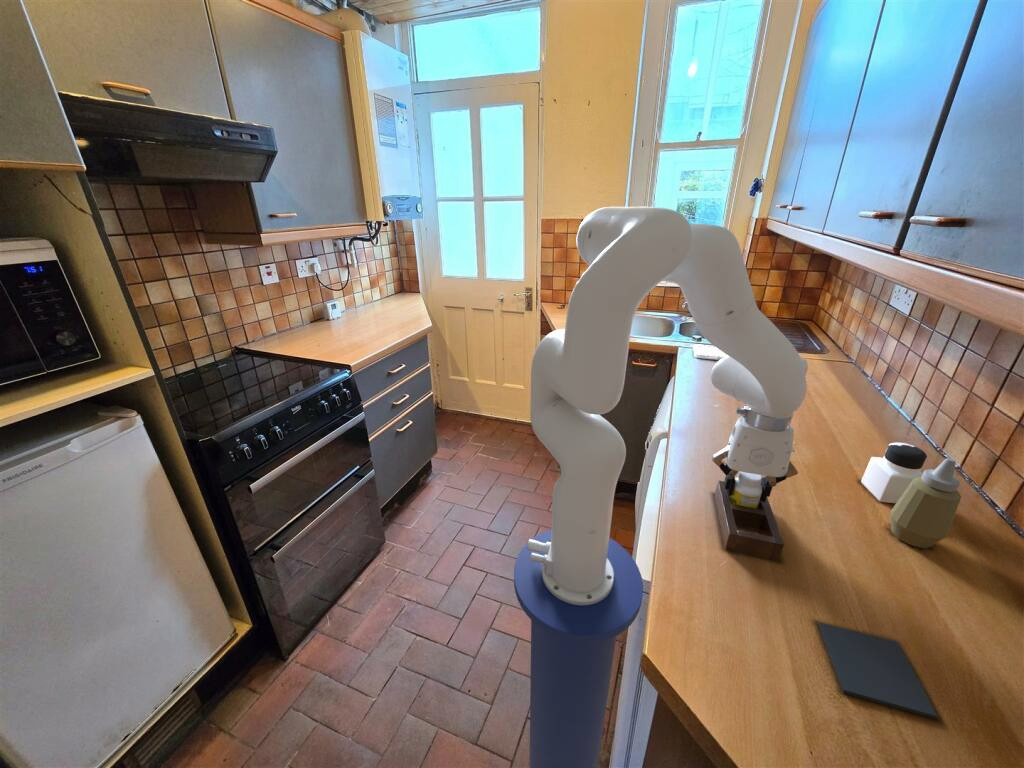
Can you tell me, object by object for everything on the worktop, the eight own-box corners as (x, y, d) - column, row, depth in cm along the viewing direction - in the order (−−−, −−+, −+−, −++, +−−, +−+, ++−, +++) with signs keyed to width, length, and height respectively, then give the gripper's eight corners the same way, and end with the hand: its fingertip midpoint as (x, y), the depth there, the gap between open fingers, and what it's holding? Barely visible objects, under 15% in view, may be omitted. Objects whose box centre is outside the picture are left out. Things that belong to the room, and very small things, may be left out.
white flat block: (693, 347, 179) (694, 343, 178) (743, 352, 172) (744, 348, 172) (693, 357, 168) (694, 353, 167) (748, 363, 161) (749, 359, 160)
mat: (842, 692, 54) (844, 690, 54) (817, 624, 63) (818, 621, 62) (936, 719, 51) (938, 716, 51) (896, 644, 60) (898, 641, 59)
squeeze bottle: (924, 559, 74) (969, 478, 66) (873, 528, 80) (909, 452, 73) (949, 545, 76) (995, 467, 69) (898, 517, 83) (935, 443, 76)
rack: (724, 549, 76) (729, 533, 74) (714, 494, 90) (718, 480, 88) (778, 561, 73) (784, 544, 72) (759, 502, 88) (763, 488, 86)
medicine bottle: (917, 506, 86) (941, 459, 81) (879, 502, 87) (900, 456, 82) (895, 485, 92) (916, 440, 87) (859, 481, 94) (878, 437, 89)
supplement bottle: (723, 501, 88) (733, 464, 84) (751, 506, 87) (763, 469, 82) (727, 518, 83) (738, 479, 79) (756, 524, 82) (769, 485, 78)
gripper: (719, 420, 75) (701, 497, 82) (828, 434, 70) (798, 516, 77) (714, 402, 81) (698, 476, 89) (813, 414, 76) (787, 491, 84)
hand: (744, 493), depth 83 cm, fingers closed on supplement bottle, 5 cm apart
